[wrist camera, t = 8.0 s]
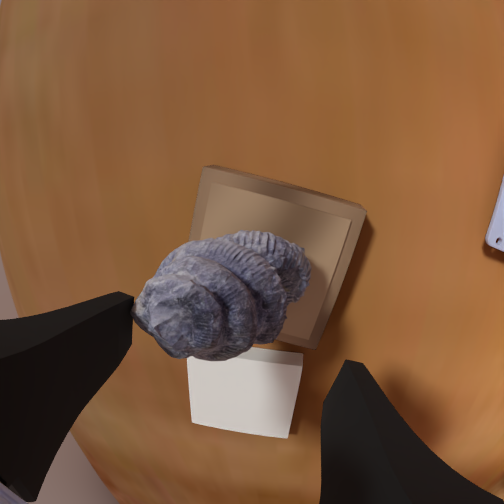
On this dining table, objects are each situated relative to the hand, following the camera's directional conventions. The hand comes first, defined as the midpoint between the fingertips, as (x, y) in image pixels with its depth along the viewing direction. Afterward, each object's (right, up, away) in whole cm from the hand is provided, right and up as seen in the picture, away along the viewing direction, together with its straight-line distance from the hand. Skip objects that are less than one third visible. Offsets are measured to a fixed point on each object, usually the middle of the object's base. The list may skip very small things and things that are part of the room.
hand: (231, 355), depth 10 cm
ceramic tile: (0, -7, +13) cm, 15 cm away
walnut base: (+2, +3, +10) cm, 10 cm away
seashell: (+2, +2, +8) cm, 8 cm away
